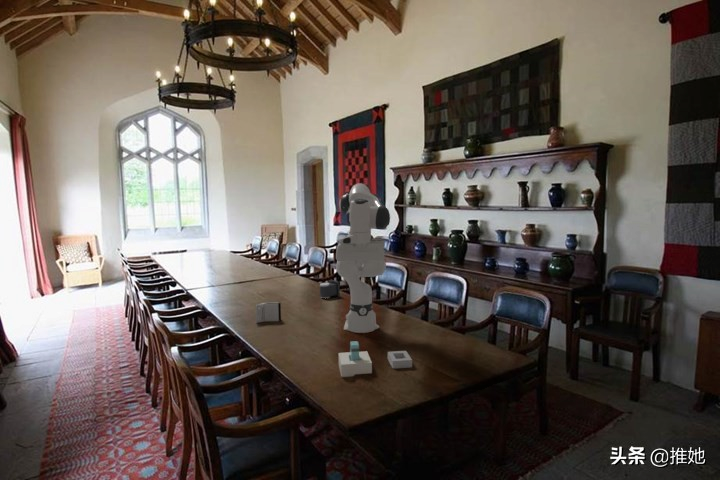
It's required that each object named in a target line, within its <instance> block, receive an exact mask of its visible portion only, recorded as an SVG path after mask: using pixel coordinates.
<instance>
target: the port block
mask: <svg viewBox="0 0 720 480" xmlns="http://www.w3.org/2000/svg"><path fill="white" fill-rule="evenodd" d="M338 368H339V373H340V376H341V377H340V378H349V377H355V375H363V374H367V375H368V374H373V362H372V360H371V357H370V355H369V353H368V351H367V350H366V351H359V360H356V361H350V351H349V352H348V351H347V352H346V351H345V352H338Z"/></svg>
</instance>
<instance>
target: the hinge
mask: <svg viewBox="0 0 720 480" xmlns="http://www.w3.org/2000/svg"><path fill="white" fill-rule="evenodd" d="M281 303H282V302H278V301H277V302H275V301H274V302H261V303H259V304H254V305H255V324H258V323H263V322H281V320H282V311H281V309H282V308H281V306H282V305H281Z"/></svg>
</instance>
